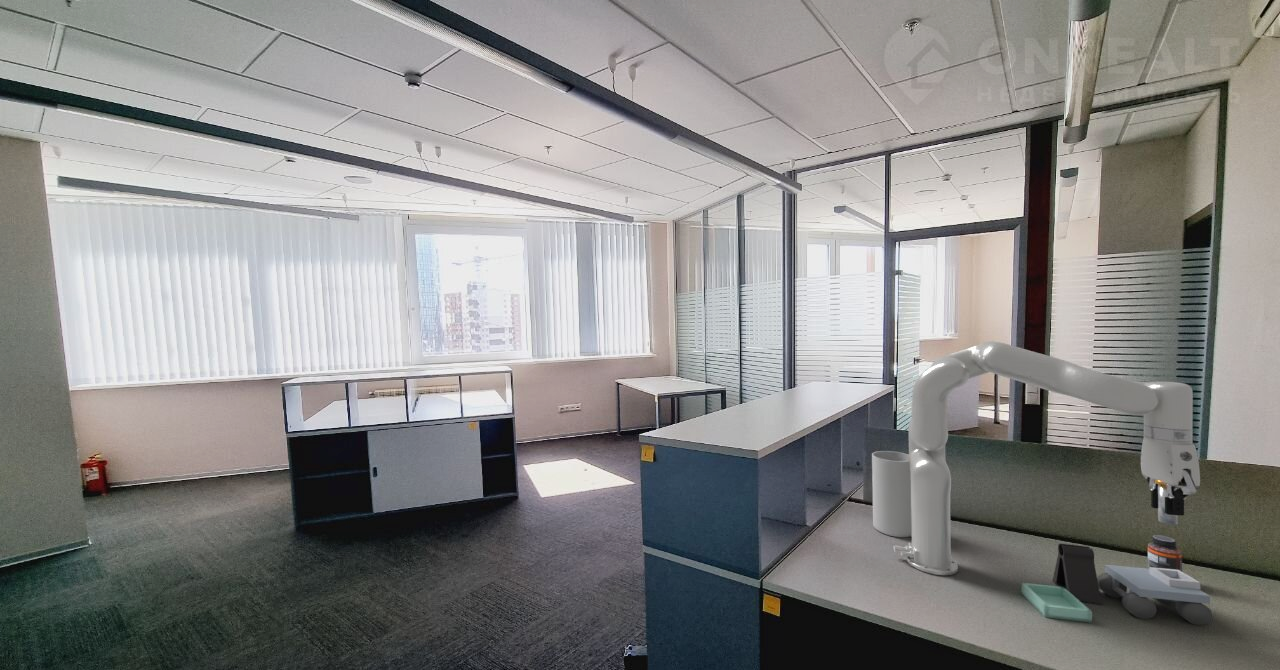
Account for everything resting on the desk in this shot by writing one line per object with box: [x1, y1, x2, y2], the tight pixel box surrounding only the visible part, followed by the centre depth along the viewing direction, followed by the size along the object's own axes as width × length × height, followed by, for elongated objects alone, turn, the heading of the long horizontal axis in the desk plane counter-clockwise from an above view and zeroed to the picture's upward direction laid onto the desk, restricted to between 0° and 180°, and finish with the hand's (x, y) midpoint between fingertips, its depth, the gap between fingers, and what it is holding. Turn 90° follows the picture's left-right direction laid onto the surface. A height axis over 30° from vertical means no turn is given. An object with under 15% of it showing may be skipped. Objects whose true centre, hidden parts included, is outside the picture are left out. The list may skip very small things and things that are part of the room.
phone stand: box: [1052, 543, 1103, 605], centre depth 115 cm, size 9×6×12 cm, turn 159°
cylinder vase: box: [871, 450, 912, 538], centre depth 152 cm, size 12×12×25 cm
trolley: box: [1097, 564, 1213, 626], centre depth 108 cm, size 11×15×9 cm
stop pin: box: [1155, 479, 1179, 526], centre depth 107 cm, size 4×4×10 cm
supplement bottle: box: [1147, 534, 1183, 572], centre depth 119 cm, size 6×6×11 cm
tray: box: [1020, 582, 1093, 623], centre depth 109 cm, size 9×10×3 cm
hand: (1167, 510), depth 107 cm, fingers closed on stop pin, 3 cm apart
